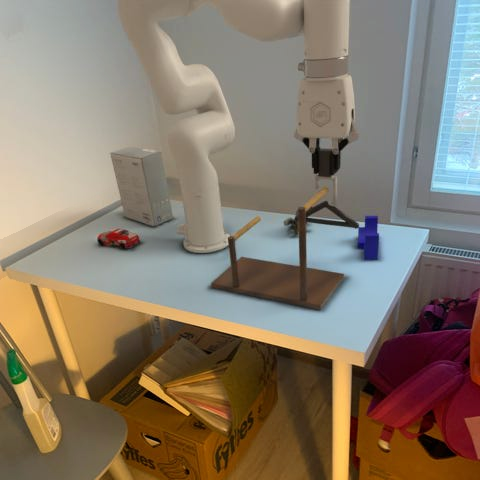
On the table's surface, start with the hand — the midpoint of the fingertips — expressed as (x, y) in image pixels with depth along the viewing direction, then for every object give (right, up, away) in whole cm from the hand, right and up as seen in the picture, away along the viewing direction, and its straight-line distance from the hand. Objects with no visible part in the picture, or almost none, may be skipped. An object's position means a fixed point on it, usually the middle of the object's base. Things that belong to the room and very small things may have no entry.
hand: (326, 171), depth 97 cm
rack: (-9, -21, +12) cm, 26 cm away
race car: (-50, -8, +39) cm, 64 cm away
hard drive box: (-45, +2, +54) cm, 70 cm away
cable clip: (+14, -12, +23) cm, 29 cm away
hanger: (+1, -9, +6) cm, 11 cm away
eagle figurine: (-1, -5, +35) cm, 36 cm away
